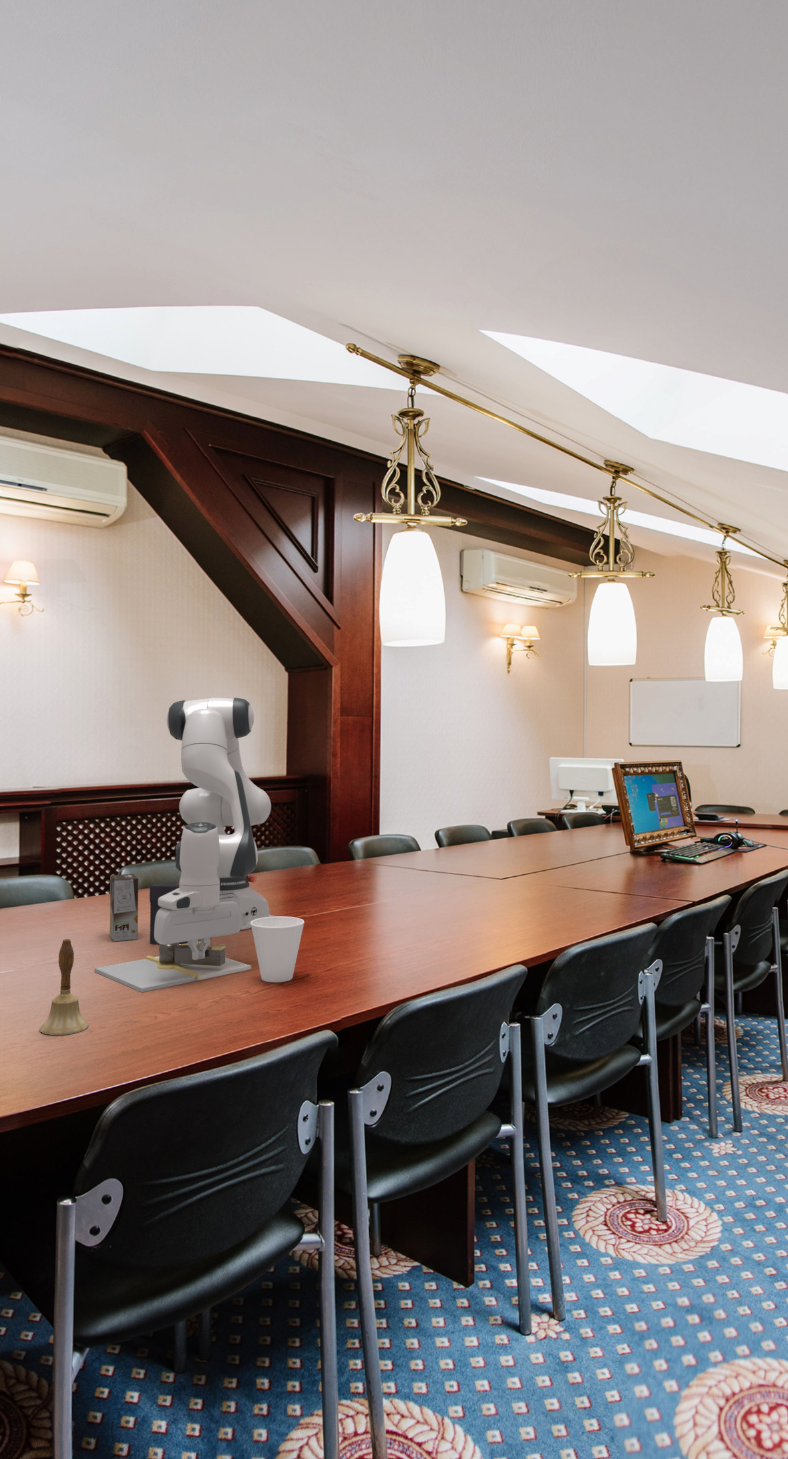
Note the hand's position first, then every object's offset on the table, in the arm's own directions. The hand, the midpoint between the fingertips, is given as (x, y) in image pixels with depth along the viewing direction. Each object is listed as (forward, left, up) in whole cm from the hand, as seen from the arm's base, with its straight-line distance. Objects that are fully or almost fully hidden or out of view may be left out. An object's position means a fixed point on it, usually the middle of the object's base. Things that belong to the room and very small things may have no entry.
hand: (198, 959), depth 192 cm
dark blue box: (-12, -32, -4) cm, 34 cm away
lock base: (+2, -8, -4) cm, 9 cm away
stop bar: (-1, -4, -2) cm, 4 cm away
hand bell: (+36, +14, -4) cm, 39 cm away
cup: (-12, +13, -4) cm, 18 cm away
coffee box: (-6, -47, -4) cm, 47 cm away
